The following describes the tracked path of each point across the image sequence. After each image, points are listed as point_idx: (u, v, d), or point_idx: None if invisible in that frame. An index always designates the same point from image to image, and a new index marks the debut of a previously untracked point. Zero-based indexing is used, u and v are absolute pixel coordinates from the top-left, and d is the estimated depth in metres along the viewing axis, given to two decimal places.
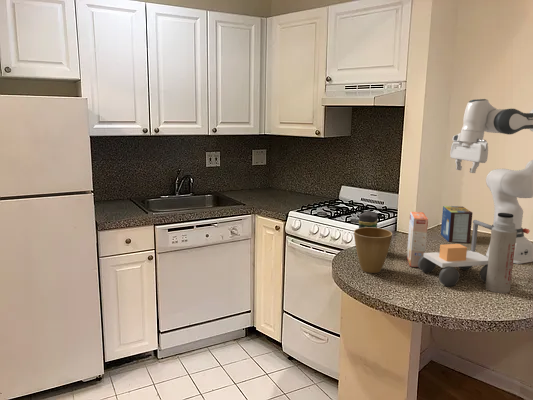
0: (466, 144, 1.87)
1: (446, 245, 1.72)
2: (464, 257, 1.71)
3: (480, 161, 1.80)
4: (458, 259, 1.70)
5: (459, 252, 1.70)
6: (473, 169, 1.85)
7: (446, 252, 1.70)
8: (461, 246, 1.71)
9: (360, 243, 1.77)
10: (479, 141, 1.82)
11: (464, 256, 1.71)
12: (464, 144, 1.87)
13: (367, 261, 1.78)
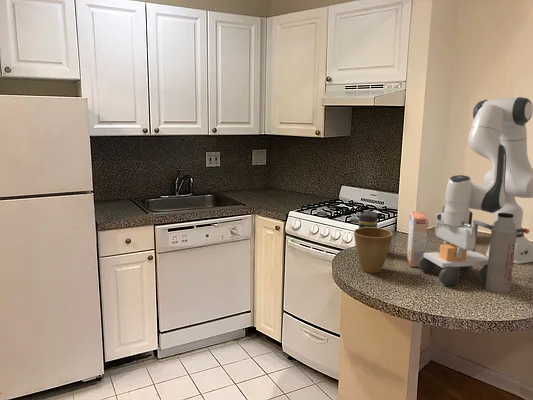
0: (451, 227, 1.68)
1: (446, 245, 1.72)
2: (464, 257, 1.71)
3: (467, 249, 1.62)
4: (458, 259, 1.70)
5: None
6: (458, 254, 1.68)
7: (446, 252, 1.70)
8: None
9: (360, 243, 1.77)
10: (464, 225, 1.64)
11: (464, 256, 1.71)
12: (448, 227, 1.69)
13: (367, 261, 1.78)
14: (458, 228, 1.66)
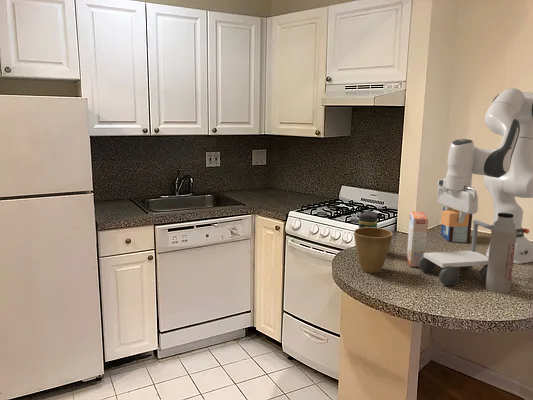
0: (453, 192, 1.65)
1: (448, 211, 1.69)
2: (466, 223, 1.68)
3: (470, 212, 1.59)
4: (460, 225, 1.67)
5: None
6: (460, 219, 1.65)
7: (448, 217, 1.67)
8: None
9: (360, 243, 1.77)
10: (467, 189, 1.61)
11: (466, 222, 1.68)
12: (451, 191, 1.66)
13: (367, 261, 1.78)
14: (460, 192, 1.63)
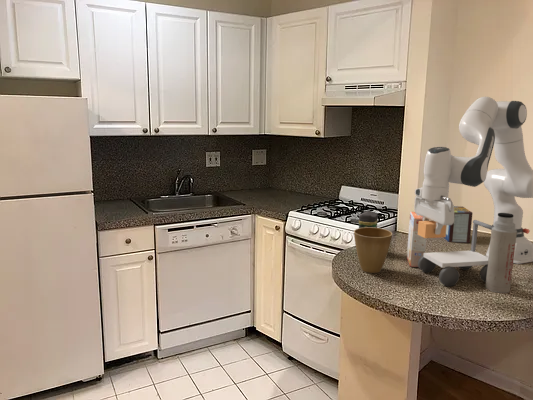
0: (429, 202, 1.58)
1: (425, 221, 1.62)
2: (444, 234, 1.61)
3: (446, 224, 1.52)
4: (437, 236, 1.60)
5: None
6: (437, 230, 1.58)
7: (424, 228, 1.60)
8: None
9: (360, 243, 1.77)
10: (443, 199, 1.54)
11: (444, 233, 1.61)
12: (427, 201, 1.59)
13: (367, 261, 1.78)
14: (437, 202, 1.56)
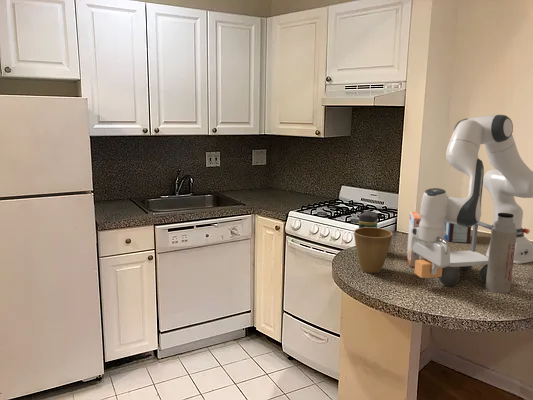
0: (426, 242, 1.61)
1: (421, 261, 1.65)
2: (440, 273, 1.64)
3: (442, 266, 1.55)
4: (433, 275, 1.63)
5: None
6: (433, 270, 1.61)
7: (420, 268, 1.63)
8: None
9: (360, 243, 1.77)
10: (439, 241, 1.57)
11: (440, 272, 1.63)
12: (423, 242, 1.62)
13: (367, 261, 1.78)
14: (433, 244, 1.58)
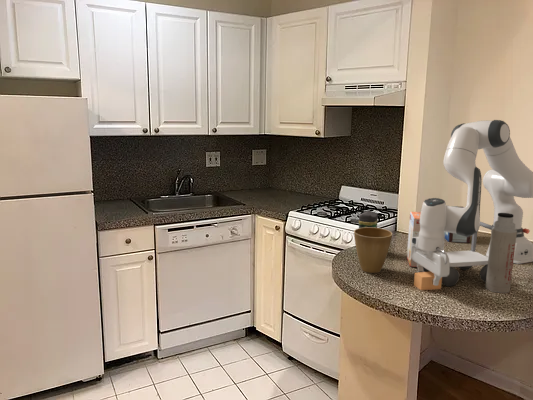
0: (425, 252, 1.62)
1: (421, 273, 1.66)
2: (439, 286, 1.65)
3: (441, 276, 1.55)
4: (433, 288, 1.64)
5: None
6: (435, 281, 1.60)
7: (420, 281, 1.63)
8: None
9: (360, 243, 1.77)
10: (439, 251, 1.58)
11: (439, 285, 1.64)
12: (423, 252, 1.63)
13: (367, 261, 1.78)
14: (432, 254, 1.59)
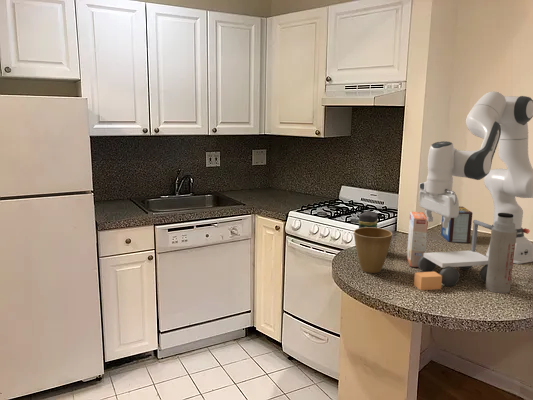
0: (434, 195, 1.62)
1: (421, 273, 1.66)
2: (439, 286, 1.64)
3: (451, 216, 1.56)
4: (433, 288, 1.64)
5: (433, 281, 1.64)
6: (445, 224, 1.61)
7: (420, 280, 1.64)
8: (436, 274, 1.65)
9: (360, 243, 1.77)
10: (447, 192, 1.58)
11: (439, 285, 1.64)
12: (431, 195, 1.63)
13: (367, 261, 1.78)
14: (441, 196, 1.60)
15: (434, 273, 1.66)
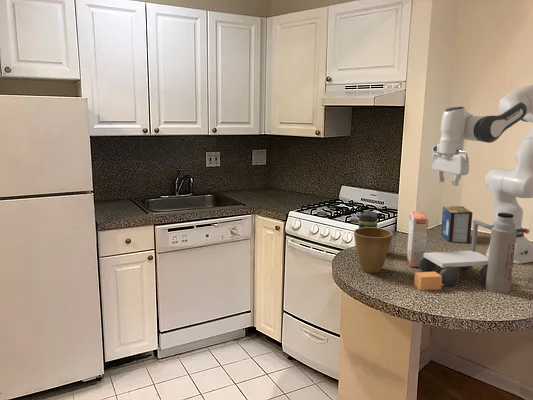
0: (446, 156, 1.77)
1: (421, 273, 1.66)
2: (439, 286, 1.64)
3: (461, 174, 1.70)
4: (433, 288, 1.64)
5: (433, 281, 1.64)
6: (455, 182, 1.75)
7: (419, 280, 1.64)
8: (436, 275, 1.65)
9: (360, 243, 1.77)
10: (459, 152, 1.73)
11: (439, 285, 1.64)
12: (444, 156, 1.78)
13: (367, 261, 1.78)
14: (453, 155, 1.74)
15: (434, 273, 1.66)
